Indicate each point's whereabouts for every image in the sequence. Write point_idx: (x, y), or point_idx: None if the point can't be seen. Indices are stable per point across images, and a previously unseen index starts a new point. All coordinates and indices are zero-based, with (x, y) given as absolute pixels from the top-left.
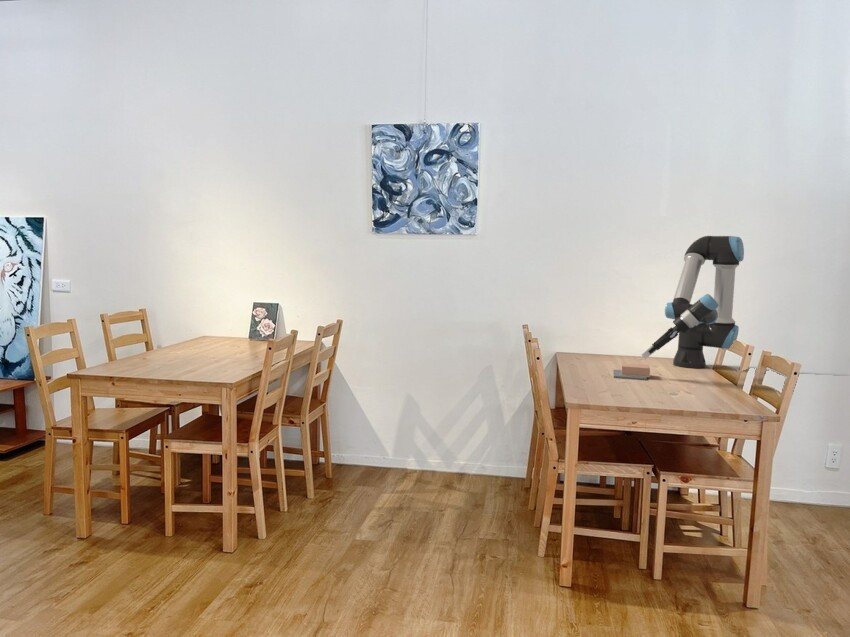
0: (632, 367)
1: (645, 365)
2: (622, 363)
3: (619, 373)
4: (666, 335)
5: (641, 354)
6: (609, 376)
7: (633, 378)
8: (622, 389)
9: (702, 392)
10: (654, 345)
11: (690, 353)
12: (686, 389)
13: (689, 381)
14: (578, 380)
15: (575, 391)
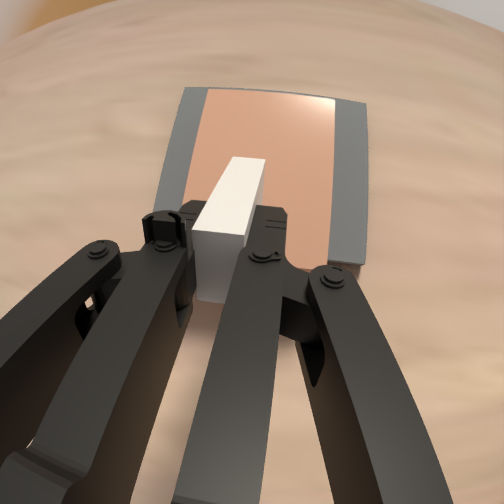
0: (196, 142)
1: (288, 238)
2: (316, 100)
3: None
4: (21, 475)
5: (242, 158)
6: (227, 80)
7: (164, 172)
8: (9, 134)
9: None
10: (147, 247)
11: None
12: None
13: None
14: (133, 12)
15: (17, 43)
